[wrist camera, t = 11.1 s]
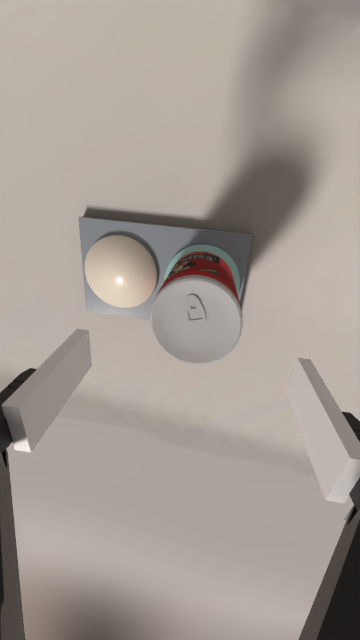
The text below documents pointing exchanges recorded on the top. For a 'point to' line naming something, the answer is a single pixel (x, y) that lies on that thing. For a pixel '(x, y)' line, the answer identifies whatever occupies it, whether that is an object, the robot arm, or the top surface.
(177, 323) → the canned food
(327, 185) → the top surface
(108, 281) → the board
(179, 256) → the pad
